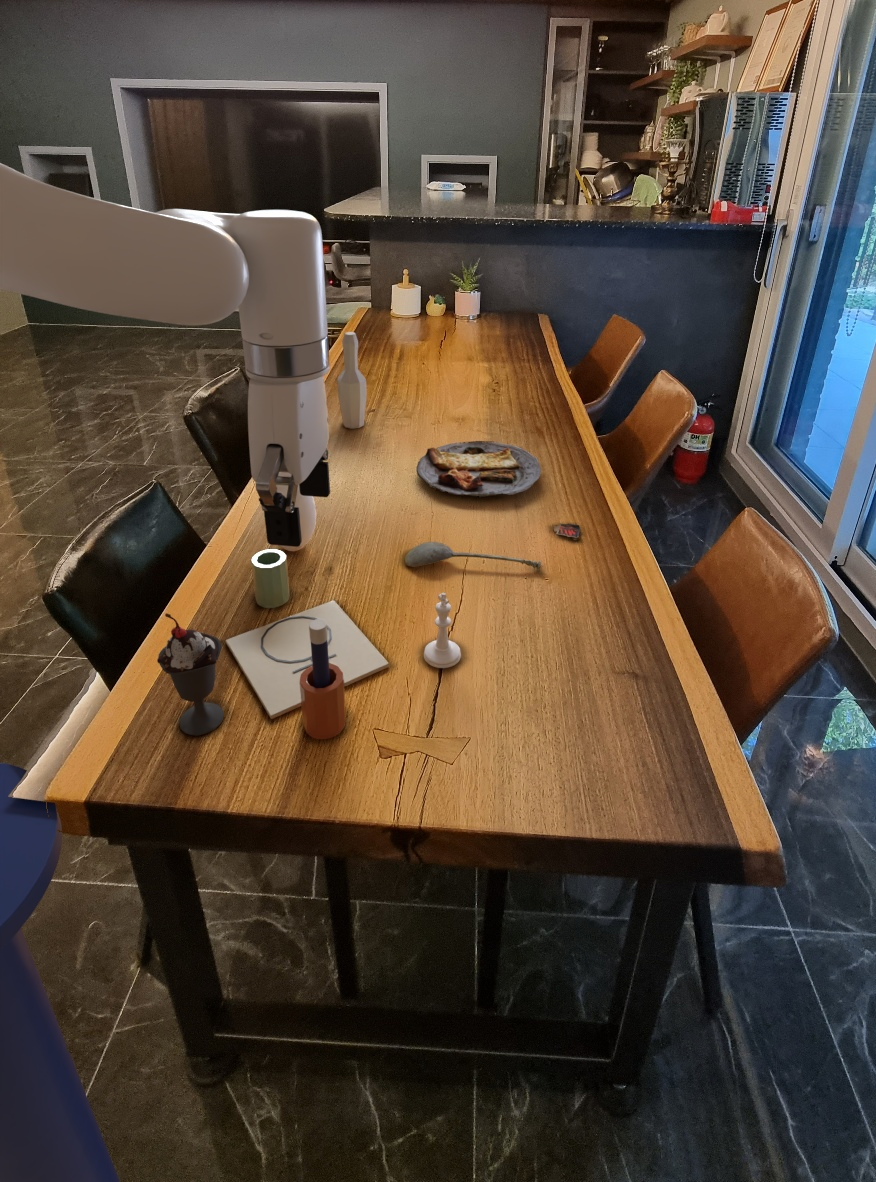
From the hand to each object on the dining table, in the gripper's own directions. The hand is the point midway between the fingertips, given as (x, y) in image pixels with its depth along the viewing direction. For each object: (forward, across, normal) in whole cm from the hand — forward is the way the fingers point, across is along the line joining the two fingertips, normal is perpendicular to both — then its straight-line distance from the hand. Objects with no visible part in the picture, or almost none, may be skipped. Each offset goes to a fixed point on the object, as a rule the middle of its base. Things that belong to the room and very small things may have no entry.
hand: (301, 518), depth 70 cm
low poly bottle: (+28, -88, -18) cm, 94 cm away
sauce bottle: (+28, -35, -15) cm, 47 cm away
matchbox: (+28, -47, +31) cm, 63 cm away
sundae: (+28, +2, -13) cm, 31 cm away
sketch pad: (+27, -10, -5) cm, 30 cm away
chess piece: (+28, -13, +13) cm, 33 cm away
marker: (+27, +1, +1) cm, 27 cm away
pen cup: (+27, -22, -13) cm, 37 cm away
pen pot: (+27, +1, +1) cm, 27 cm away
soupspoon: (+28, -35, +15) cm, 47 cm away
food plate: (+28, -67, +14) cm, 74 cm away
